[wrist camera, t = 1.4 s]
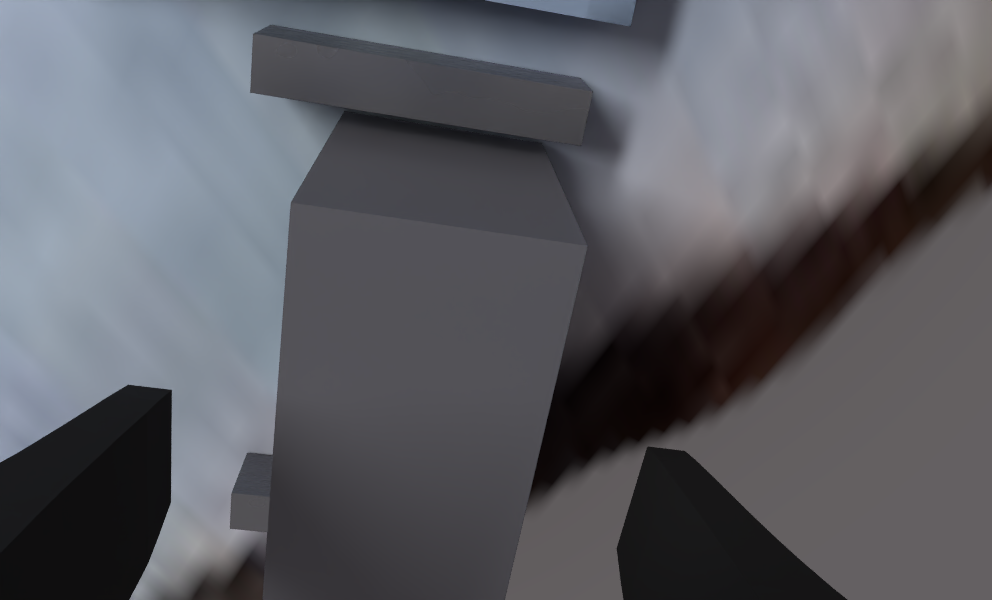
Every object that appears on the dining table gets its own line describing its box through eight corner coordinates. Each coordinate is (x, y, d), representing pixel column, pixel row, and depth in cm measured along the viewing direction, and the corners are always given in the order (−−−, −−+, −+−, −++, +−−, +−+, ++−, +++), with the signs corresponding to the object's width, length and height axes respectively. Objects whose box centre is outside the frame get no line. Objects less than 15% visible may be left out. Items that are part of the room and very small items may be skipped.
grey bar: (312, 442, 19) (259, 646, 14) (344, 109, 16) (291, 202, 10) (478, 460, 20) (489, 664, 14) (541, 141, 16) (587, 245, 11)
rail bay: (245, 487, 19) (229, 528, 18) (270, 24, 15) (253, 33, 14) (488, 512, 20) (491, 553, 19) (580, 77, 16) (593, 91, 14)
